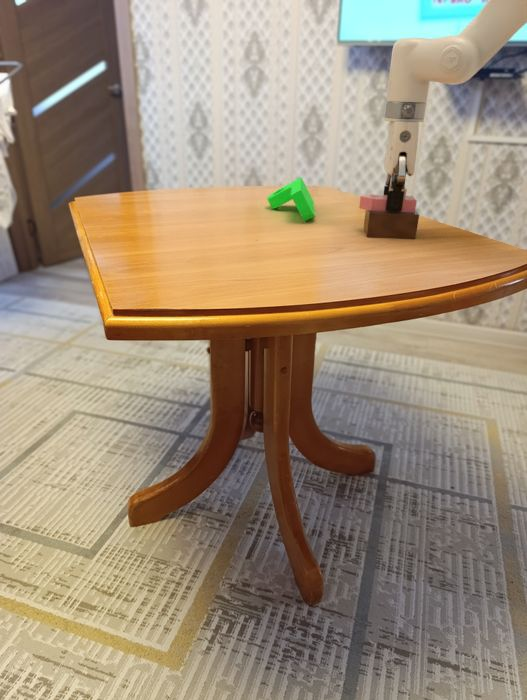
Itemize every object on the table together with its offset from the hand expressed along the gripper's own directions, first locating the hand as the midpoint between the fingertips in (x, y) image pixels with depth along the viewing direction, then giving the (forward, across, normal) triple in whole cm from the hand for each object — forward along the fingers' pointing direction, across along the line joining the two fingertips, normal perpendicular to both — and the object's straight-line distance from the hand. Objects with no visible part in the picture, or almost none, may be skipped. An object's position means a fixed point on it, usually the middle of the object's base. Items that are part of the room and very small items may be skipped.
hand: (391, 207), depth 107 cm
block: (+5, 0, 0) cm, 5 cm away
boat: (0, 0, +1) cm, 1 cm away
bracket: (+6, +15, +22) cm, 27 cm away
